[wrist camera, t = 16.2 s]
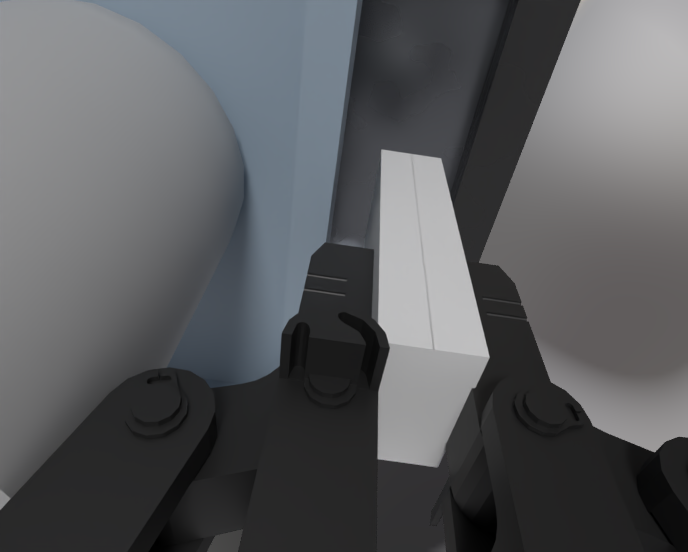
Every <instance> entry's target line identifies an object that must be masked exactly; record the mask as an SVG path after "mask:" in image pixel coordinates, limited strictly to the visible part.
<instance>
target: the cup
mask: <svg viewBox="0 0 688 552" xmlns="http://www.w3.org/2000/svg"><path fill="white" fill-rule="evenodd" d="M243 200H244V164H243V161H242V157H241V154H240V150H239V146H238V143H237V139H236V136H235V132H234V129H233V127H232V125H231V123H230V121H229V119H228V118H227V116H226V114H225V112H224V110H223V108H222V107H221V105H220V103H219V101H218V99H217V98H216V96H215V94H214V92H213V90H212V89H211V88H210V87H209V86H208V84H207V83H206V82H205V81H204V80H203V79H202V78H201V77H200V75H199V74H198V73H197V72H196V71H195V70H194V69H193V67H192V66H191V65H190V64H189V63H188V62H187V61H186V59H185V58H184V57H183V56H182V55H181V54H180V53H179V52H177V51H176V50H175V49H173V48H172V47H171V46H169V45H168V44H167V43H165V42H164V41H163V40H161V39H160V38H159V37H157V36H156V35H155V34H153V33H152V32H151V31H149V30H148V29H147V28H145V27H144V26H143V25H141V24H140V23H138V22H136V21H133V20H131V19H129V18H126V17H124V16H122V15H120V14H117V13H115V12H113V11H111V10H108V9H106V8H104V7H102V6H99V5H97V4H95V3H89V2H82V1H76V0H8V1H2V2H0V510H1V509H2V508H3V506H4V505H5V504H6V503H7V502H8V501H9V500H10V499H11V498H12V497H13V496H14V495H15V494H16V493H17V491H18V490H19V489H20V488H21V487H22V486H23V485H24V484H25V483H26V482H27V481H28V480H29V479H30V478H31V477H32V475H33V474H34V473H35V472H36V471H37V470H38V469H39V468H40V467H41V466H42V465H43V464H44V463H45V462H46V460H47V459H48V458H49V457H50V456H51V455H52V454H53V453H54V452H55V451H56V450H57V449H58V448H59V447H60V445H61V444H62V443H63V442H64V441H65V440H66V439H67V438H68V437H69V436H70V435H71V434H72V433H73V432H74V430H75V429H76V428H77V427H78V426H79V425H80V424H81V423H82V422H83V421H84V420H85V419H86V418H87V417H88V416H89V414H90V413H91V412H92V411H93V410H94V409H95V408H96V407H97V406H98V405H99V404H100V403H101V402H102V401H103V399H104V398H105V397H106V396H107V395H108V394H109V393H110V392H111V391H113V390H114V389H115V388H116V387H118V386H119V385H120V384H121V383H123V382H124V381H125V380H126V379H128V378H130V377H133V376H135V375H137V374H140V373H142V372H145V371H147V370H152V369H160V368H167V366H168V364H169V362H170V360H171V358H172V356H173V354H174V352H175V350H176V348H177V346H178V344H179V342H180V340H181V338H182V336H183V334H184V332H185V330H186V328H187V326H188V324H189V322H190V320H191V318H192V316H193V314H194V312H195V310H196V308H197V306H198V304H199V302H200V300H201V298H202V296H203V294H204V292H205V290H206V288H207V286H208V284H209V282H210V280H211V278H212V276H213V274H214V272H215V270H216V268H217V266H218V264H219V262H220V260H221V258H222V256H223V254H224V252H225V250H226V248H227V246H228V244H229V242H230V240H231V237H232V234H233V231H234V229H235V226H236V223H237V219H238V216H239V213H240V210H241V206H242V203H243Z"/></svg>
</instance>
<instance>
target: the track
mask: <svg viewBox="0 0 688 552" xmlns="http://www.w3.org/2000/svg"><path fill="white" fill-rule="evenodd" d="M579 3H580V0H363V1H362V8H361V16H360V23H359V30H358V38H357V45H356V52H355V60H354V67H353V74H352V82H351V89H350V97H349V104H348V111H347V119H346V126H345V133H344V141H343V148H342V155H341V163H340V170H339V177H338V185H337V192H336V199H335V207H334V214H333V221H332V229H331V236H330V243H333V244H340V245H347V246H354V247H361V248H364V242H365V236H366V231H367V225H368V220H369V214H370V209H371V203H372V198H373V192H374V187H375V182H376V176H377V171H378V165H379V160H380V154H381V149H382V150H389V151H395V152H402V153H409V154H416V155H422V156H429V157H436V158H441V160H442V164H443V168H444V172H445V176H446V180H447V184H448V189H449V193H450V197H451V201H452V205H453V209H454V213H455V217H456V221H457V225H458V230H459V234H460V238H461V242H462V246H463V250H464V254H465V258H466V261H469V262H476V263H479V260H480V257H481V255H482V252H483V250H484V247H485V244H486V242H487V239H488V237H489V234H490V232H491V229H492V227H493V224H494V221H495V219H496V216H497V214H498V211H499V209H500V206H501V203H502V201H503V198H504V196H505V193H506V191H507V188H508V186H509V183H510V180H511V178H512V175H513V173H514V170H515V168H516V165H517V162H518V160H519V157H520V155H521V152H522V149H523V147H524V144H525V142H526V139H527V137H528V134H529V132H530V129H531V126H532V124H533V121H534V119H535V116H536V113H537V111H538V108H539V106H540V103H541V101H542V98H543V95H544V93H545V90H546V88H547V85H548V82H549V80H550V78H551V75H552V72H553V70H554V67H555V65H556V62H557V60H558V57H559V54H560V51H561V49H562V47H563V44H564V41H565V39H566V36H567V34H568V31H569V29H570V26H571V24H572V21H573V18H574V16H575V13H576V11H577V8H578V6H579Z"/></svg>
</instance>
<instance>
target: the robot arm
mask: <svg viewBox="0 0 688 552" xmlns="http://www.w3.org/2000/svg"><path fill="white" fill-rule="evenodd" d="M445 451H447V459H448V467H449V478H448V480H447V482H446V484H445V486H444V488H443V490H442V492H441V494H440V496H439V498H438V500H437V502H436V503H435V506H434V507H433V509H432V511H431V519H430V525H432V526H437V524H438V522H439V521H440V519H441V517H442V515H443V522H444V533H445V543H446V552H688V438H685V437H677V438H674V439H672V440H669V441H666V442H665V443H664V444H663V445H662V446H661V447H660V448H659V449H658V450H657V451H656V452H655V453H654V452H652V451H649V450H646V449H644V448H642V447H640V446H637V445H635V444H632V443H630V442H627V441H625V440H622V439H619V438H617V437H615V436H612V435H609V434H608V433H605V432H603V431H601V430H599V429H597V428H595V427H593V426H592V423H591V421H590V419H589V418H588V416H587V415H586V413H585V411H584V410H583V408H582V407H581V405H580V404H579V403H578V402H577V401H576V400H575V399H574V398H573V397H572V396H571V395H569V394H568V393H567V392H566V391H565V390H563V389H562V388H560V387H558V386H556V385H555V384H553V383H551V382H550V379H549V376H548V374H547V371H546V368H545V365H544V362H543V360H542V357H541V354H540V352H539V349H538V346H537V343H536V341H535V338H534V335H533V332H532V330H531V327H530V324H529V322H527V316H526V313H525V310H524V308H523V306H521V300H520V297H519V294H518V291H517V289H516V286H515V283H514V282H513V281H512V280H511V279H510V278H509V277H508V276H507V275H506V273H505V272H504V271H503V270H502V269H501V268H500V267H499V266H496V265H489V264H482V263H476V262H469V261H466V258H465V254H464V250H463V246H462V242H461V238H460V234H459V230H458V225H457V221H456V217H455V213H454V209H453V205H452V201H451V197H450V193H449V189H448V184H447V180H446V176H445V172H444V168H443V164H442V160H441V158H436V157H429V156H422V155H416V154H409V153H402V152H395V151H389V150H382V149H381V154H380V160H379V165H378V171H377V176H376V182H375V187H374V192H373V198H372V203H371V209H370V214H369V220H368V225H367V231H366V236H365V242H364V248H361V247H354V246H347V245H340V244H333V243H326V242H325V243H324V244H323V245H322V246H321V247H320V248H319V249H318V250H316V251H315V252H314V253H313V254H312V255H311V259H310V263H309V268H308V272H307V277H306V281H305V285H304V291H303V294H302V299H301V303H300V307H299V312H298V314H296V315H295V316H293V317H292V318H291V319H289V321H288V322H287V324H286V326H285V328H284V330H283V331H282V334H281V351H280V366H279V367H278V368H276V369H275V370H274V371H272V372H271V373H270V374H268V375H266V376H264V377H262V378H260V379H258V380H255V381H251V382H247V383H243V384H237V385H230V386H222V387H215V388H210V387H209V385H208V384H207V382H206V381H205V379H203V378H201V377H199V376H198V375H196V374H194V373H193V372H191V371H189V370H183V369H177V368H171V367H168V368H160V369H152V370H147V371H145V372H142V373H140V374H137V375H135V376H133V377H130V378H128V379H126V380H125V381H124V382H123V383H121V384H120V385H119V386H118V387H116V388H115V389H114V390H113V391H111V392H110V393H109V394H108V395H107V396H106V397H105V398H104V399H103V401H102V402H101V403H100V404H99V405H98V406H97V407H96V408H95V409H94V410H93V411H92V412H91V413H90V414H89V416H88V417H87V418H86V419H85V420H84V421H83V422H82V423H81V424H80V425H79V426H78V427H77V428H76V429H75V430H74V432H73V433H72V434H71V435H70V436H69V437H68V438H67V439H66V440H65V441H64V442H63V443H62V444H61V445H60V447H59V448H58V449H57V450H56V451H55V452H54V453H53V454H52V455H51V456H50V457H49V458H48V459H47V460H46V462H45V463H44V464H43V465H42V466H41V467H40V468H39V469H38V470H37V471H36V472H35V473H34V474H33V475H32V477H31V478H30V479H29V480H28V481H27V482H26V483H25V484H24V485H23V486H22V487H21V488H20V489H19V490H18V491H17V493H16V494H15V495H14V496H13V497H12V498H11V499H10V500H9V501H8V502H7V503H6V504H5V505H4V506H3V508H2V509H1V510H0V552H207V550H208V548H209V546H210V544H211V543H212V541H213V539H214V537H215V535H219V534H223V533H228V532H232V531H236V530H241V529H243V533H242V537H241V541H240V546H239V550H238V552H376V543H377V541H376V540H377V536H376V535H377V461H378V459H381V460H388V461H395V462H403V463H410V464H417V465H425V466H432V467H438V466H439V464H440V462H441V459H442V457H443V455H444V453H445Z"/></svg>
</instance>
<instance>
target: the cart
mask: <svg viewBox="0 0 688 552" xmlns="http://www.w3.org/2000/svg"><path fill="white" fill-rule="evenodd" d="M2 1H8V0H0V2H2ZM76 1H82V2H89V3H95V4H97V5H99V6H102V7H104V8H106V9H108V10H111V11H113V12H115V13H117V14H120V15H122V16H124V17H126V18H129V19H131V20H133V21H136V22H138V23H140V24H141V25H143V26H144V27H145V28H147V29H148V30H149V31H151V32H152V33H153V34H155V35H156V36H157V37H159V38H160V39H161V40H163V41H164V42H165V43H167V44H168V45H169V46H171V47H172V48H173V49H175V50H176V51H177V52H179V53H180V54H181V55H182V56H183V57H184V58H185V59H186V61H187V62H188V63H189V64H190V65H191V66H192V67H193V69H194V70H195V71H196V72H197V73H198V74H199V75H200V77H201V78H202V79H203V80H204V81H205V82H206V83H207V84H208V86H209V87H210V88H211V89H212V90H213V92H214V94H215V96H216V98H217V99H218V101H219V103H220V105H221V107H222V108H223V110H224V112H225V114H226V116H227V118H228V119H229V121H230V123H231V125H232V127H233V129H234V132H235V136H236V139H237V143H238V146H239V150H240V154H241V157H242V161H243V164H244V200H243V203H242V206H241V210H240V213H239V216H238V219H237V223H236V226H235V229H234V231H233V234H232V237H231V240H230V242H229V244H228V246H227V248H226V250H225V252H224V254H223V256H222V258H221V260H220V262H219V264H218V266H217V268H216V270H215V272H214V274H213V276H212V278H211V280H210V282H209V284H208V286H207V288H206V290H205V292H204V294H203V296H202V298H201V300H200V302H199V304H198V306H197V308H196V310H195V312H194V314H193V316H192V318H191V320H190V322H189V324H188V326H187V328H186V330H185V332H184V334H183V336H182V338H181V340H180V342H179V344H178V346H177V348H176V350H175V352H174V354H173V356H172V358H171V360H170V362H169V364H168V366H167V368H168V367H171V368H177V369H183V370H189V371H191V372H193V373H194V374H196V375H198V376H199V377H201V378H203V379H205V381H206V382H207V384H208V385H209V387H210V388H215V387H222V386H230V385H237V384H243V383H247V382H251V381H255V380H258V379H260V378H262V377H264V376H266V375H268V374H270V373H271V372H272V371H274V370H275V369H276V368H278V367H279V366H280V351H281V334H282V331H283V330H284V328H285V326H286V324H287V322H288V321H289V319H291V318H292V317H293V316H295V315H296V314H298V312H299V307H300V303H301V299H302V294H303V291H304V285H305V281H306V277H307V272H308V268H309V263H310V259H311V255H312V254H313V253H314V252H315V251H316V250H318V249H319V248H320V247H321V246H322V245H323V244H324V243H325V242H326V243H330V236H331V229H332V221H333V214H334V207H335V199H336V192H337V185H338V177H339V170H340V163H341V155H342V148H343V141H344V133H345V126H346V119H347V111H348V104H349V97H350V89H351V82H352V74H353V67H354V60H355V52H356V45H357V38H358V30H359V23H360V16H361V8H362V1H363V0H76Z"/></svg>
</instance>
